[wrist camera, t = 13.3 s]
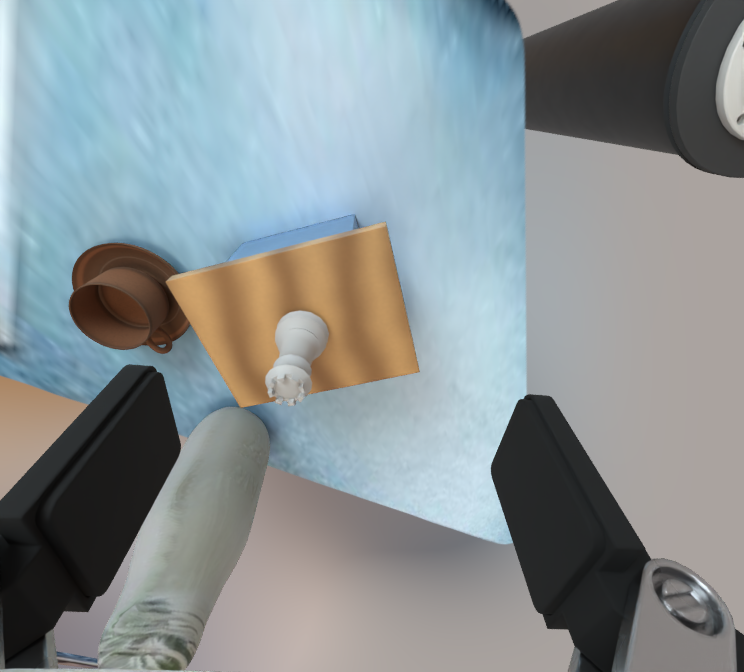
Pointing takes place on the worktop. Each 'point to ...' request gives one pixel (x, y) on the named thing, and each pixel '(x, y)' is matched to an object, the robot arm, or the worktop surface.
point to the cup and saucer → (125, 298)
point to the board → (303, 293)
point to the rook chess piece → (296, 356)
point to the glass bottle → (188, 545)
